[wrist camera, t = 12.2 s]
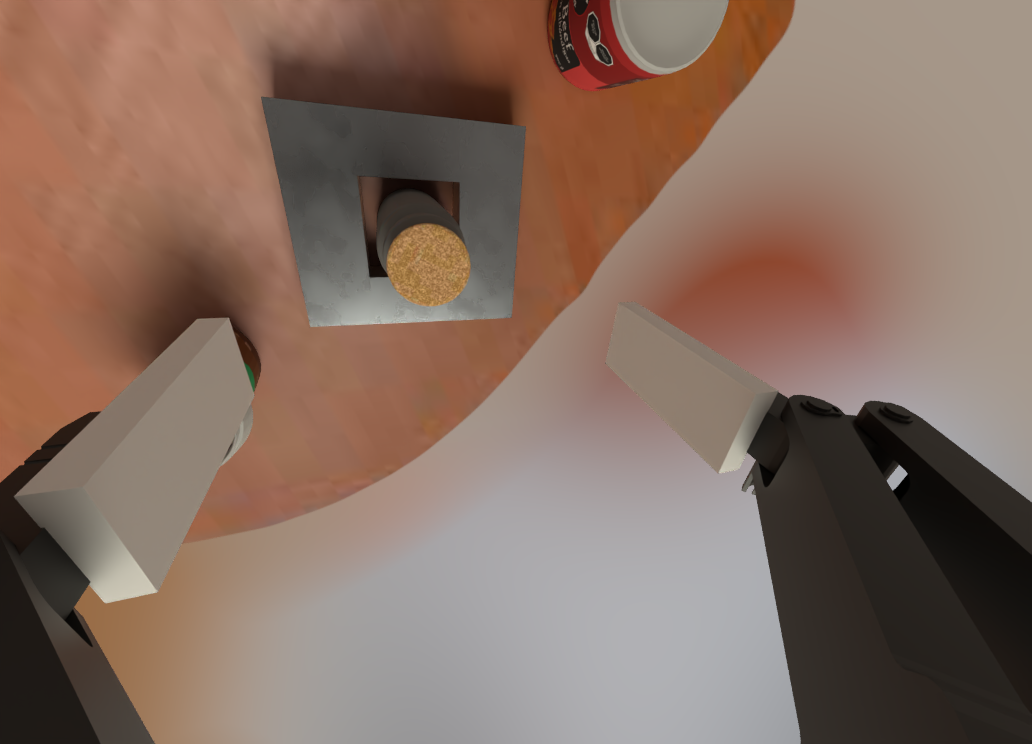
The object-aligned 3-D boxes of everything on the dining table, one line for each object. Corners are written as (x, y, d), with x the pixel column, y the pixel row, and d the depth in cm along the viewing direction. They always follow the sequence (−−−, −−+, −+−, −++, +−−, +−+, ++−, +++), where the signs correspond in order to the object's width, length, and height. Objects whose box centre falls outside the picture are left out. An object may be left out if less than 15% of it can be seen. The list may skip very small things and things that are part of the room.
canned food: (561, -57, 27) (650, -155, 18) (647, -4, 30) (759, -66, 21) (531, 70, 31) (594, 40, 22) (611, 106, 34) (695, 93, 25)
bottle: (413, 269, 36) (431, 334, 23) (362, 221, 32) (351, 266, 20) (457, 226, 35) (500, 268, 22) (409, 171, 32) (428, 186, 19)
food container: (241, 432, 39) (204, 509, 30) (169, 409, 35) (105, 489, 27) (299, 340, 36) (276, 398, 28) (226, 306, 32) (175, 360, 24)
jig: (273, 101, 27) (261, 96, 24) (512, 127, 32) (525, 126, 29) (316, 311, 35) (310, 326, 32) (502, 305, 40) (511, 317, 37)
